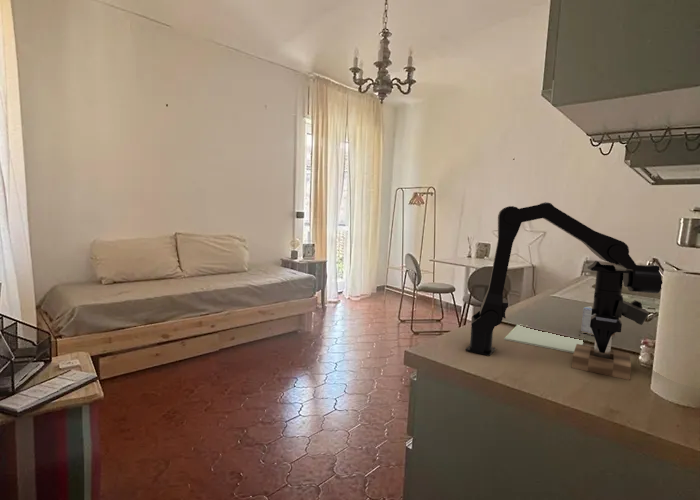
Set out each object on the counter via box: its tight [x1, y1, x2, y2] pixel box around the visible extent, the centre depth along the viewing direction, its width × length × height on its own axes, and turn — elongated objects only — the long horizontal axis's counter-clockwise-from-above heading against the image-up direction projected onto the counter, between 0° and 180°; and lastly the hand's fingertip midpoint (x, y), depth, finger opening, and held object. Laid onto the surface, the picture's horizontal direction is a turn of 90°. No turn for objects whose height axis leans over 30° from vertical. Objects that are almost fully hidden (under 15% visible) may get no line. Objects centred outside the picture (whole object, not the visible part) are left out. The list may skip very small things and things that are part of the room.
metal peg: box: [593, 333, 616, 359], centre depth 103 cm, size 5×5×10 cm
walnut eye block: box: [571, 344, 632, 381], centre depth 103 cm, size 12×12×3 cm
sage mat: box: [503, 324, 584, 354], centre depth 126 cm, size 20×20×1 cm
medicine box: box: [580, 305, 595, 334], centre depth 131 cm, size 8×4×9 cm, turn 35°
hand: (602, 350), depth 103 cm, fingers closed on metal peg, 4 cm apart
